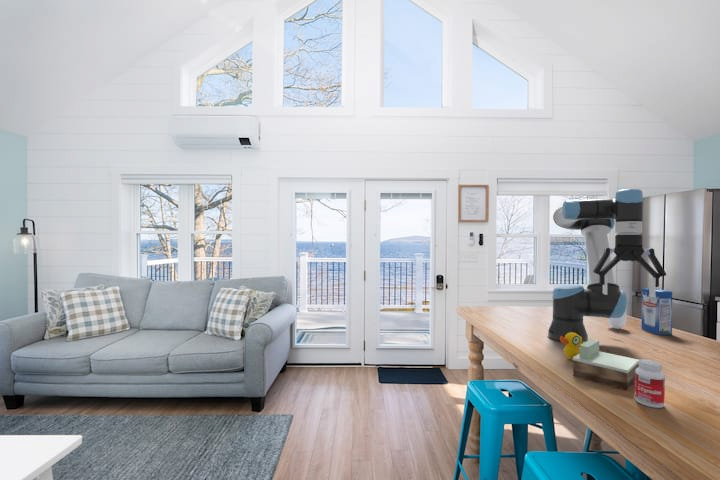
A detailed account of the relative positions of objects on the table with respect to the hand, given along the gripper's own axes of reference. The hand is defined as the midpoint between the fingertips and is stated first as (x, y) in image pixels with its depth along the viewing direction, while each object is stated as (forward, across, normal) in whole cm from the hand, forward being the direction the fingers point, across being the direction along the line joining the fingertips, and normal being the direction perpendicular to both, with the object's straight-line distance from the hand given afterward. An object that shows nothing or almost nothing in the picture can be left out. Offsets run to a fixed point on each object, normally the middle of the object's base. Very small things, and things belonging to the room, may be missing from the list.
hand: (628, 295), depth 122 cm
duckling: (+25, -16, 0) cm, 29 cm away
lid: (+19, -10, -15) cm, 26 cm away
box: (+24, -10, -15) cm, 30 cm away
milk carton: (+25, +28, +59) cm, 70 cm away
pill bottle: (+25, -4, -31) cm, 40 cm away
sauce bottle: (+25, +13, +59) cm, 65 cm away
